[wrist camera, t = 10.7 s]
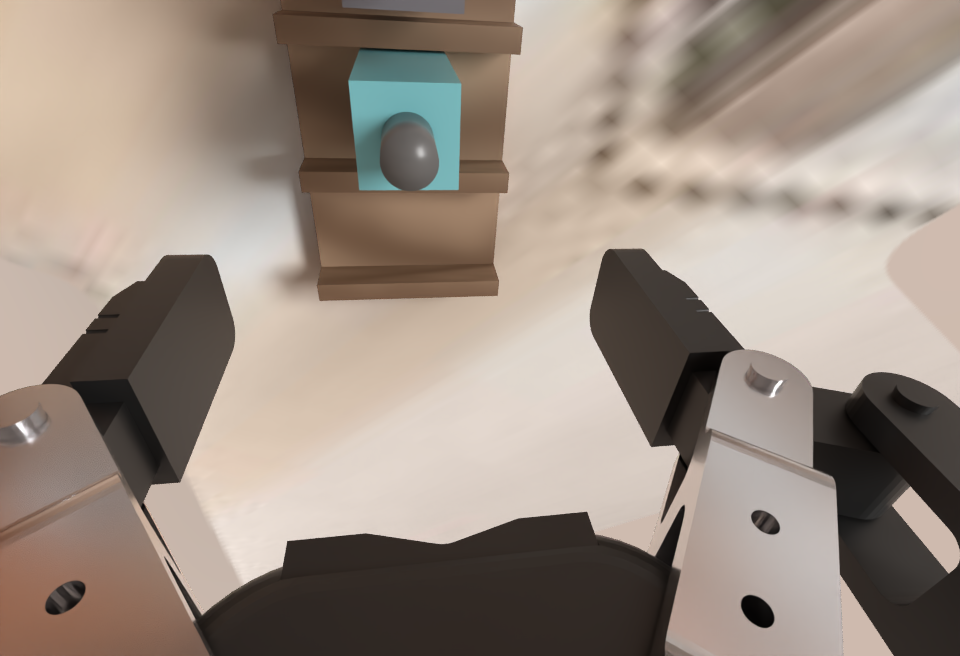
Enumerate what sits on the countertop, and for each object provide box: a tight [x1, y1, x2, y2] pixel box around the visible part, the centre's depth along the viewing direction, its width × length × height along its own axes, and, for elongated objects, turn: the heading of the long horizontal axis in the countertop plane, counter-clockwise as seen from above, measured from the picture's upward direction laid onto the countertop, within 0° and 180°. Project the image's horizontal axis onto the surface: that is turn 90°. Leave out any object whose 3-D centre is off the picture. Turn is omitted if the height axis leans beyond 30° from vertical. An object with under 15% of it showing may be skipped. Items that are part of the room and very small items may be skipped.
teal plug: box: [348, 47, 461, 191], centre depth 19 cm, size 4×4×10 cm
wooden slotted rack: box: [273, 0, 523, 301], centre depth 23 cm, size 20×10×3 cm, turn 177°
